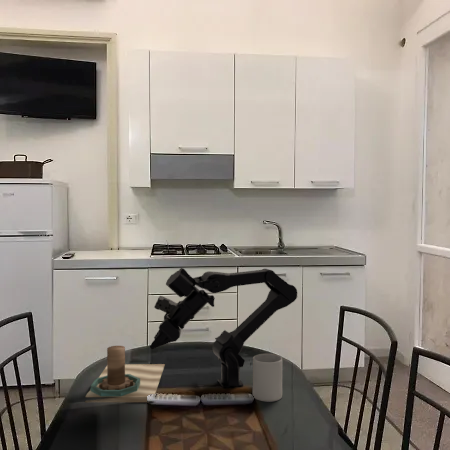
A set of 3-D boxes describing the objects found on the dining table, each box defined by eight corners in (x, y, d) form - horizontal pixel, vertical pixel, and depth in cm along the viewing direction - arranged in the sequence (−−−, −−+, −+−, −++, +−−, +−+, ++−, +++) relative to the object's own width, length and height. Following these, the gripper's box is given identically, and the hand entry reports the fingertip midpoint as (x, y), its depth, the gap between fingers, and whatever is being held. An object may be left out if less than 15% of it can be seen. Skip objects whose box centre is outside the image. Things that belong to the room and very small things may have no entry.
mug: (284, 401, 130) (284, 362, 129) (253, 402, 129) (254, 363, 129) (277, 385, 142) (278, 349, 141) (250, 385, 141) (250, 349, 141)
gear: (134, 391, 132) (134, 351, 132) (99, 395, 130) (99, 354, 129) (131, 379, 142) (131, 342, 141) (98, 382, 139) (98, 344, 139)
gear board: (154, 402, 129) (154, 391, 129) (85, 402, 129) (85, 391, 129) (164, 368, 156) (164, 359, 156) (107, 368, 156) (107, 359, 156)
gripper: (173, 282, 147) (138, 316, 147) (167, 292, 128) (127, 332, 129) (198, 307, 148) (163, 341, 148) (196, 321, 129) (156, 360, 129)
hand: (152, 343), depth 138 cm, fingers open, 9 cm apart
